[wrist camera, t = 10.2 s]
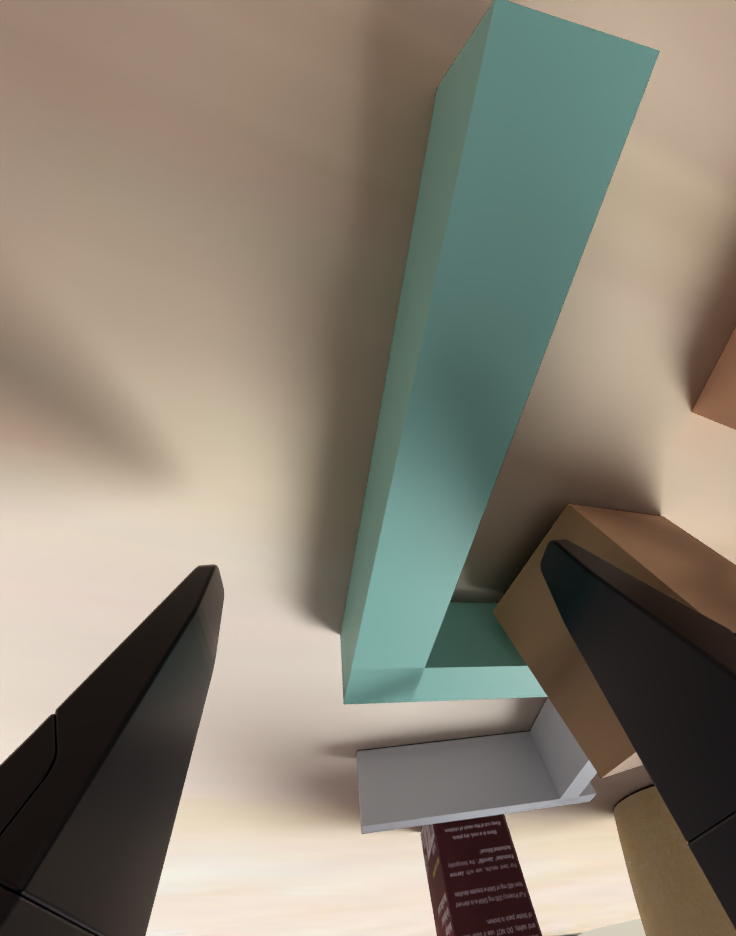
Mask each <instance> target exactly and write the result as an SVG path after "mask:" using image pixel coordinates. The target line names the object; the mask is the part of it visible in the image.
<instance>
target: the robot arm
mask: <svg viewBox="0 0 736 936" xmlns="http://www.w3.org/2000/svg"><path fill="white" fill-rule="evenodd" d="M540 569H541V572H542V574H543V577H544V579H545V581H546V584H547V586H548V588H549V590H550V593H551V595H552V597H553V599H554V602H555V604H556V606H557V608H558V611H559V613H560V615H561V617H562V620H563V622H564V624H565V626H566V628H567V630H568V631H569V633H570V635H571V637H572V639H573V641H574V642H575V644H576V646H577V648H578V649H579V651H580V653H581V655H582V657H583V658H584V660H585V662H586V664H587V666H588V667H589V669H590V671H591V673H592V674H593V676H594V678H595V680H596V682H597V683H598V685H599V687H600V689H601V690H602V692H603V694H604V696H605V698H606V699H607V701H608V703H609V705H610V707H611V708H612V710H613V712H614V714H615V715H616V717H617V719H618V721H619V723H620V724H621V726H622V728H623V730H624V731H625V733H626V735H627V737H628V739H629V740H630V742H631V744H632V746H633V748H634V749H635V751H636V753H637V755H638V756H639V758H640V760H641V762H642V764H643V765H644V767H645V769H646V771H647V773H648V774H649V776H650V778H651V780H652V781H653V783H654V785H655V787H656V789H657V790H658V792H659V794H660V796H661V797H662V799H663V801H664V803H665V805H666V806H667V808H668V810H669V812H670V814H671V815H672V817H673V819H674V821H675V822H676V824H677V826H678V828H679V830H680V831H681V833H682V835H683V837H684V839H685V840H686V841H687V842H688V846H689V848H690V850H691V852H692V853H693V855H694V857H695V859H696V860H697V862H698V864H699V866H700V868H701V869H702V871H703V873H704V875H705V876H706V878H707V880H708V882H709V884H710V885H711V887H712V889H713V891H714V892H715V894H716V896H717V898H718V900H719V901H720V903H721V905H722V907H723V909H724V910H725V912H726V914H727V916H728V917H729V919H730V921H731V923H732V925H733V926H734V928H735V930H736V632H732V631H731V630H730V629H729V628H727V627H725V626H723V625H721V624H720V623H718V622H716V621H714V620H712V619H710V618H709V617H707V616H705V615H703V614H701V613H700V612H698V611H696V610H694V609H692V608H691V607H689V606H687V605H685V604H683V603H681V602H680V601H678V600H676V599H674V598H672V597H671V596H669V595H667V594H665V593H663V592H661V591H660V590H658V589H656V588H654V587H652V586H651V585H649V584H647V583H645V582H643V581H641V580H640V579H638V578H636V577H634V576H632V575H631V574H629V573H627V572H625V571H623V570H622V569H620V568H618V567H616V566H614V565H612V564H611V563H609V562H607V561H605V560H603V559H602V558H600V557H598V556H596V555H594V554H592V553H591V552H589V551H587V550H585V549H583V548H582V547H580V546H578V545H576V544H574V543H573V542H571V541H569V540H566V539H556V540H550V541H549V542H548V544H547V546H546V548H545V551H544V554H543V556H542V559H541V562H540ZM223 601H224V588H223V584H222V580H221V576H220V572H219V568H218V567H217V565H201V566H198V567H196V568H195V569H194V570H193V571H192V572H191V573H190V574H189V575H188V576H187V577H186V578H185V579H184V580H183V581H182V582H181V583H180V584H179V585H178V586H177V587H176V588H175V589H174V590H173V591H172V592H171V593H170V595H169V596H168V597H167V598H166V599H165V600H164V601H163V602H162V603H161V604H160V605H159V606H158V607H157V608H156V609H155V610H154V611H153V612H152V613H151V614H150V615H149V616H148V617H147V618H146V619H145V620H144V621H143V622H142V623H141V624H140V625H139V626H138V627H137V628H136V629H135V630H134V631H133V632H132V633H131V634H130V635H129V636H128V637H127V638H126V639H125V640H124V641H123V642H122V643H121V644H120V645H119V646H118V647H117V648H116V649H115V650H114V651H113V652H112V653H111V654H110V655H109V656H108V657H107V658H106V659H105V660H104V661H103V662H102V664H101V665H100V666H99V667H98V668H97V669H96V670H95V671H94V672H93V673H92V674H91V675H90V676H89V677H88V678H87V679H86V680H85V681H84V682H83V683H82V684H81V685H80V686H79V687H78V688H77V689H76V690H75V691H74V692H73V693H72V694H71V695H70V696H69V697H68V698H67V699H66V700H65V701H64V702H63V703H62V704H61V705H60V706H59V707H58V708H57V709H56V711H55V714H51V715H50V716H49V717H48V718H47V719H46V720H45V721H44V722H43V723H42V724H41V725H40V726H39V727H38V728H37V729H36V730H35V731H34V732H33V733H32V734H31V735H30V736H29V737H28V738H27V739H26V740H25V741H24V742H23V743H22V744H21V745H20V746H19V747H18V748H17V749H16V750H15V751H14V752H13V753H12V754H11V755H10V756H9V757H8V758H7V759H6V760H5V761H4V762H3V763H2V764H1V765H0V936H145V935H146V931H147V927H148V923H149V919H150V915H151V912H152V908H153V904H154V900H155V896H156V892H157V888H158V884H159V880H160V876H161V872H162V869H163V865H164V861H165V857H166V853H167V849H168V845H169V841H170V837H171V833H172V829H173V825H174V822H175V818H176V814H177V810H178V806H179V802H180V798H181V794H182V790H183V786H184V782H185V779H186V775H187V771H188V767H189V763H190V759H191V755H192V751H193V747H194V743H195V739H196V735H197V732H198V728H199V724H200V720H201V716H202V712H203V708H204V704H205V700H206V696H207V692H208V689H209V685H210V681H211V677H212V673H213V668H214V664H215V658H216V651H217V644H218V637H219V630H220V623H221V615H222V608H223Z"/></svg>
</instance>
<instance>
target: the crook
mask: <svg viewBox="0 0 736 936" xmlns="http://www.w3.org/2000/svg"><path fill="white" fill-rule="evenodd" d="M659 52H660V51H658V50H655V49H652V48H649V47H646V46H643V45H640V44H637V43H634V42H631V41H628V40H625V39H622V38H619V37H616V36H613V35H610V34H606V33H603V32H600V31H597V30H594V29H591V28H588V27H585V26H582V25H579V24H576V23H573V22H570V21H567V20H564V19H561V18H558V17H555V16H552V15H549V14H546V13H542V12H539V11H536V10H533V9H530V8H527V7H524V6H521V5H518V4H515V3H512V2H509V1H506V0H494V1H493V3H492V4H491V6H490V7H489V9H488V10H487V12H486V13H485V15H484V16H483V18H482V20H481V21H480V23H479V24H478V26H477V27H476V29H475V30H474V32H473V33H472V35H471V36H470V38H469V40H468V41H467V43H466V44H465V46H464V47H463V49H462V50H461V52H460V53H459V55H458V56H457V58H456V59H455V61H454V63H453V64H452V66H451V67H450V69H449V70H448V72H447V73H446V75H445V76H444V78H443V79H442V81H441V83H440V84H439V86H438V87H437V92H436V97H435V103H434V109H433V114H432V120H431V126H430V131H429V137H428V143H427V148H426V154H425V160H424V165H423V171H422V177H421V182H420V188H419V194H418V199H417V205H416V210H415V216H414V222H413V227H412V233H411V239H410V244H409V250H408V256H407V261H406V267H405V273H404V278H403V284H402V290H401V295H400V301H399V307H398V312H397V318H396V324H395V329H394V335H393V340H392V346H391V352H390V357H389V363H388V369H387V374H386V380H385V386H384V391H383V397H382V403H381V408H380V414H379V420H378V425H377V431H376V437H375V442H374V448H373V454H372V459H371V465H370V470H369V476H368V482H367V487H366V493H365V499H364V504H363V510H362V516H361V521H360V527H359V533H358V538H357V544H356V550H355V555H354V561H353V567H352V572H351V578H350V584H349V589H348V595H347V600H346V606H345V612H344V617H343V623H342V629H341V634H340V637H341V658H342V678H343V699H344V704H366V703H393V702H420V701H448V700H475V699H502V698H529V697H548V696H547V695H546V693H545V692H544V690H543V689H542V687H541V686H540V684H539V683H538V681H537V680H536V678H535V677H534V675H533V674H532V672H531V670H530V669H529V667H528V666H527V664H526V663H525V661H524V660H523V658H522V657H521V655H520V654H519V652H518V651H517V649H516V647H515V646H514V644H513V643H512V641H511V640H510V638H509V637H508V635H507V634H506V632H505V631H504V629H503V628H502V626H501V625H500V623H499V621H498V620H497V618H496V617H495V615H494V614H493V612H492V611H493V610H494V608H495V607H496V606H497V604H498V603H459V602H450V600H451V597H452V595H453V592H454V590H455V587H456V584H457V582H458V579H459V576H460V574H461V571H462V569H463V566H464V563H465V561H466V558H467V555H468V553H469V550H470V548H471V545H472V542H473V540H474V537H475V534H476V532H477V529H478V527H479V524H480V521H481V519H482V516H483V513H484V511H485V508H486V506H487V503H488V500H489V498H490V495H491V492H492V490H493V487H494V485H495V482H496V479H497V477H498V474H499V471H500V469H501V466H502V464H503V461H504V458H505V456H506V453H507V450H508V448H509V445H510V443H511V440H512V437H513V435H514V432H515V430H516V427H517V424H518V422H519V419H520V416H521V414H522V411H523V409H524V406H525V403H526V401H527V398H528V395H529V393H530V390H531V388H532V385H533V382H534V380H535V377H536V374H537V372H538V369H539V367H540V364H541V361H542V359H543V356H544V353H545V351H546V348H547V346H548V343H549V340H550V338H551V335H552V332H553V330H554V327H555V325H556V322H557V319H558V317H559V314H560V311H561V309H562V306H563V304H564V301H565V298H566V296H567V293H568V290H569V288H570V285H571V283H572V280H573V277H574V275H575V272H576V269H577V267H578V264H579V262H580V259H581V256H582V254H583V251H584V249H585V246H586V243H587V241H588V238H589V235H590V233H591V230H592V228H593V225H594V222H595V220H596V217H597V214H598V212H599V209H600V207H601V204H602V201H603V199H604V196H605V193H606V191H607V188H608V186H609V183H610V180H611V178H612V175H613V172H614V170H615V167H616V165H617V162H618V159H619V157H620V154H621V151H622V149H623V146H624V144H625V141H626V138H627V136H628V133H629V130H630V128H631V125H632V123H633V120H634V117H635V115H636V112H637V109H638V107H639V104H640V102H641V99H642V96H643V94H644V91H645V88H646V86H647V83H648V81H649V78H650V75H651V73H652V70H653V67H654V65H655V62H656V60H657V57H658V54H659Z"/></svg>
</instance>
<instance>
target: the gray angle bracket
mask: <svg viewBox="0 0 736 936" xmlns="http://www.w3.org/2000/svg"><path fill="white" fill-rule="evenodd" d="M357 774H358V789H359V803H360V818H361V833H362V834H366V833H373V832H380V831H387V830H394V829H401V828H408V827H415V826H422V825H429V824H436V823H443V822H450V821H458V820H465V819H472V818H479V817H486V816H493V815H500V814H507V813H514V812H521V811H528V810H535V809H542V808H549V807H556V806H563V805H570V804H577V803H585V802H590V801H591V800H592V799H593V798H594V796H595V795H596V792H595V790H594V788H593V786H592V784H591V782H590V781H591V780H592V779H593V777H594V776H595V775H596V774H597V771H596V770H595V768H594V767H593V765H592V764H591V762H590V761H589V759H588V758H587V756H586V755H585V753H584V752H583V750H582V749H581V747H580V745H579V744H578V742H577V741H576V739H575V738H574V736H573V735H572V733H571V732H570V730H569V729H568V727H567V726H566V724H565V723H564V721H563V719H562V718H561V716H560V715H559V713H558V712H557V710H556V709H555V707H554V706H553V704H552V703H551V701H550V700H549V698H548V697H547V699H546V701H545V703H544V705H543V707H542V709H541V711H540V713H539V715H538V717H537V719H536V721H535V722H534V724H533V726H532V728H531V730H530V731H528V732H519V733H510V734H502V735H493V736H484V737H476V738H467V739H459V740H450V741H441V742H433V743H424V744H415V745H407V746H398V747H390V748H381V749H372V750H364V751H357Z"/></svg>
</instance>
